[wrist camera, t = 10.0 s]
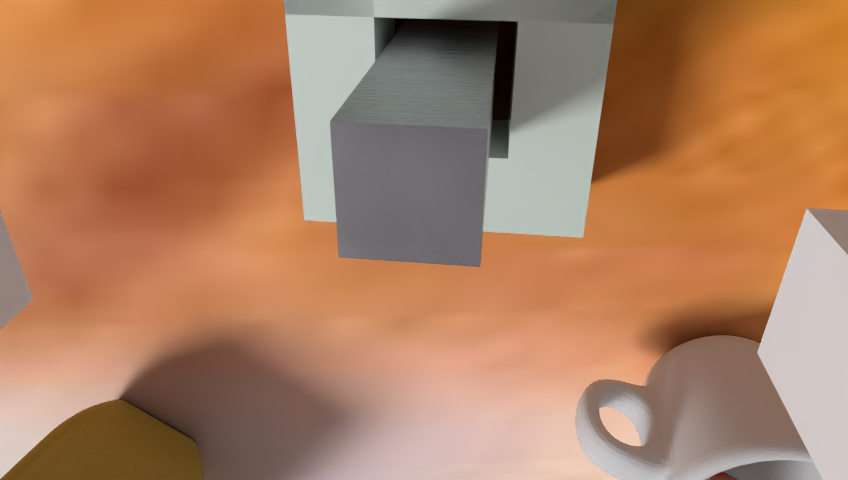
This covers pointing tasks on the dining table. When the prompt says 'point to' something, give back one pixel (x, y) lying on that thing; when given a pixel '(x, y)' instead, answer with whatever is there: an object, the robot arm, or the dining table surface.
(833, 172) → the dining table surface
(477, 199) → the peg
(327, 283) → the dining table surface
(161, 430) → the flower pot
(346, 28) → the hole block
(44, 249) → the dining table surface
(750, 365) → the cup
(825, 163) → the dining table surface
